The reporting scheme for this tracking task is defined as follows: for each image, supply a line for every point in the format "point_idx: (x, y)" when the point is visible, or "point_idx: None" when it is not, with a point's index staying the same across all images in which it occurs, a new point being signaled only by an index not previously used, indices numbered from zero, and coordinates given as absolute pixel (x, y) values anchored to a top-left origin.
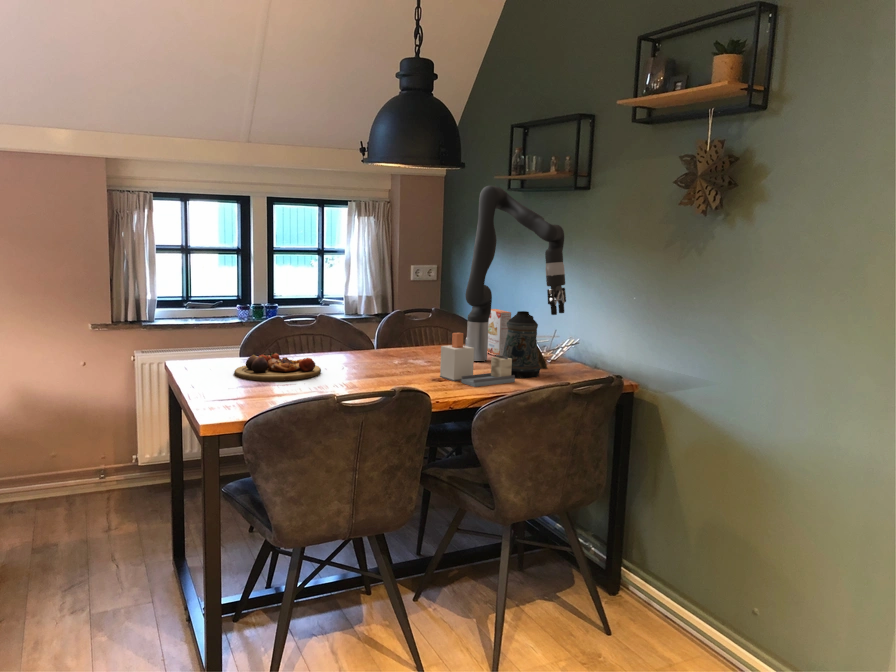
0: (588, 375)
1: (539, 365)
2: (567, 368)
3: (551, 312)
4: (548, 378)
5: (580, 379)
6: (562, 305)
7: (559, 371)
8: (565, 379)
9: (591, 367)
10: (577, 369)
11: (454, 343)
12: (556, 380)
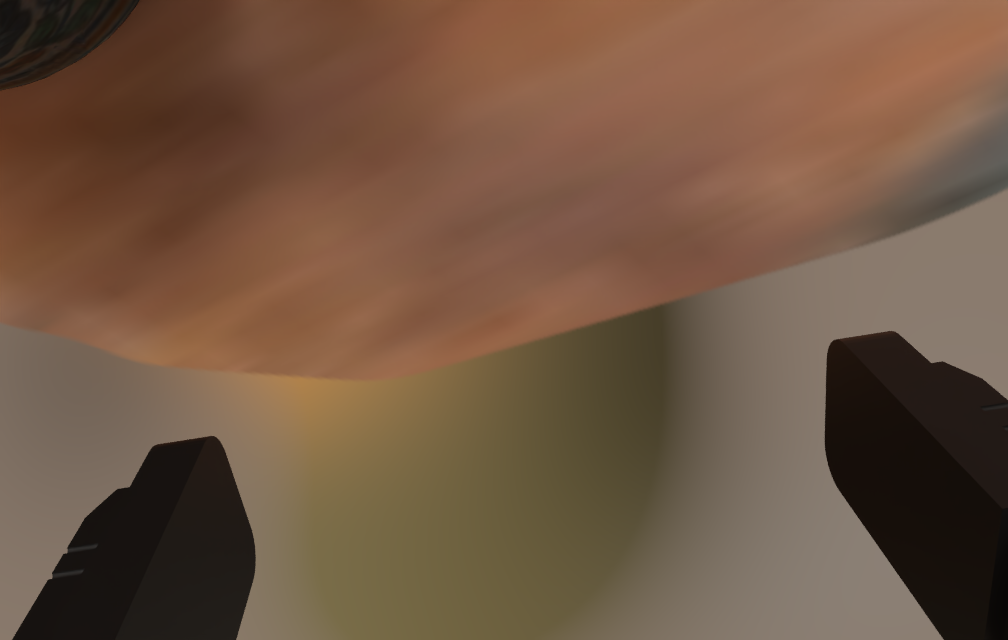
0: (516, 336)
1: (38, 69)
2: (722, 31)
3: (89, 516)
4: (73, 174)
5: (300, 372)
6: (951, 615)
7: (494, 60)
8: (185, 297)
9: (930, 177)
10: (734, 135)
11: None
12: (70, 269)
